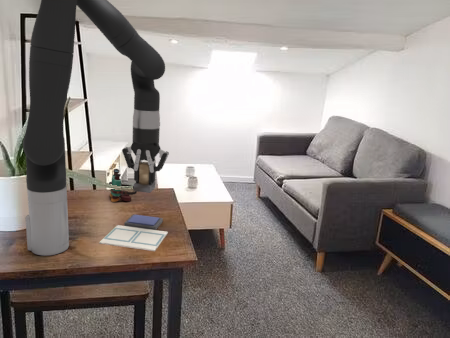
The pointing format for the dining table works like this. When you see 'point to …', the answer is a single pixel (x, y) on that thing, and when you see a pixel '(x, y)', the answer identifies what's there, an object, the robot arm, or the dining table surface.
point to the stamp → (143, 179)
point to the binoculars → (116, 193)
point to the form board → (134, 238)
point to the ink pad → (144, 222)
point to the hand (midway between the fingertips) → (144, 182)
